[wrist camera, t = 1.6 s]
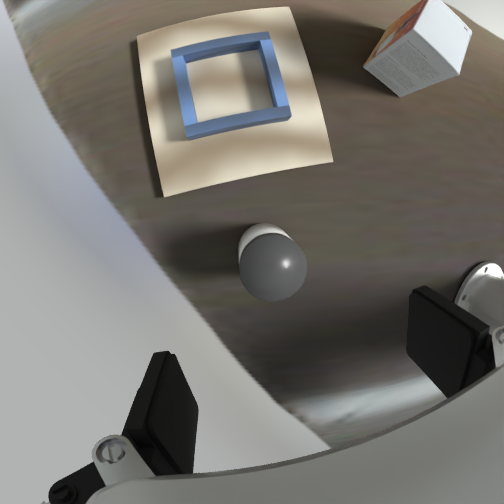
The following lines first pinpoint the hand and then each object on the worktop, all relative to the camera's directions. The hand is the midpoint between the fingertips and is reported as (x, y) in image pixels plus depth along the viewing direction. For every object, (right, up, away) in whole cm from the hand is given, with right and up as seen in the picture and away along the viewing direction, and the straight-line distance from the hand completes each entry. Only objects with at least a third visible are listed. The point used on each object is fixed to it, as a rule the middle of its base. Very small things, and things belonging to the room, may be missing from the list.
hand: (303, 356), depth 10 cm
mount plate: (-4, +19, +14) cm, 24 cm away
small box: (+14, +25, +14) cm, 32 cm away
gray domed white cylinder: (-1, +4, +18) cm, 18 cm away
